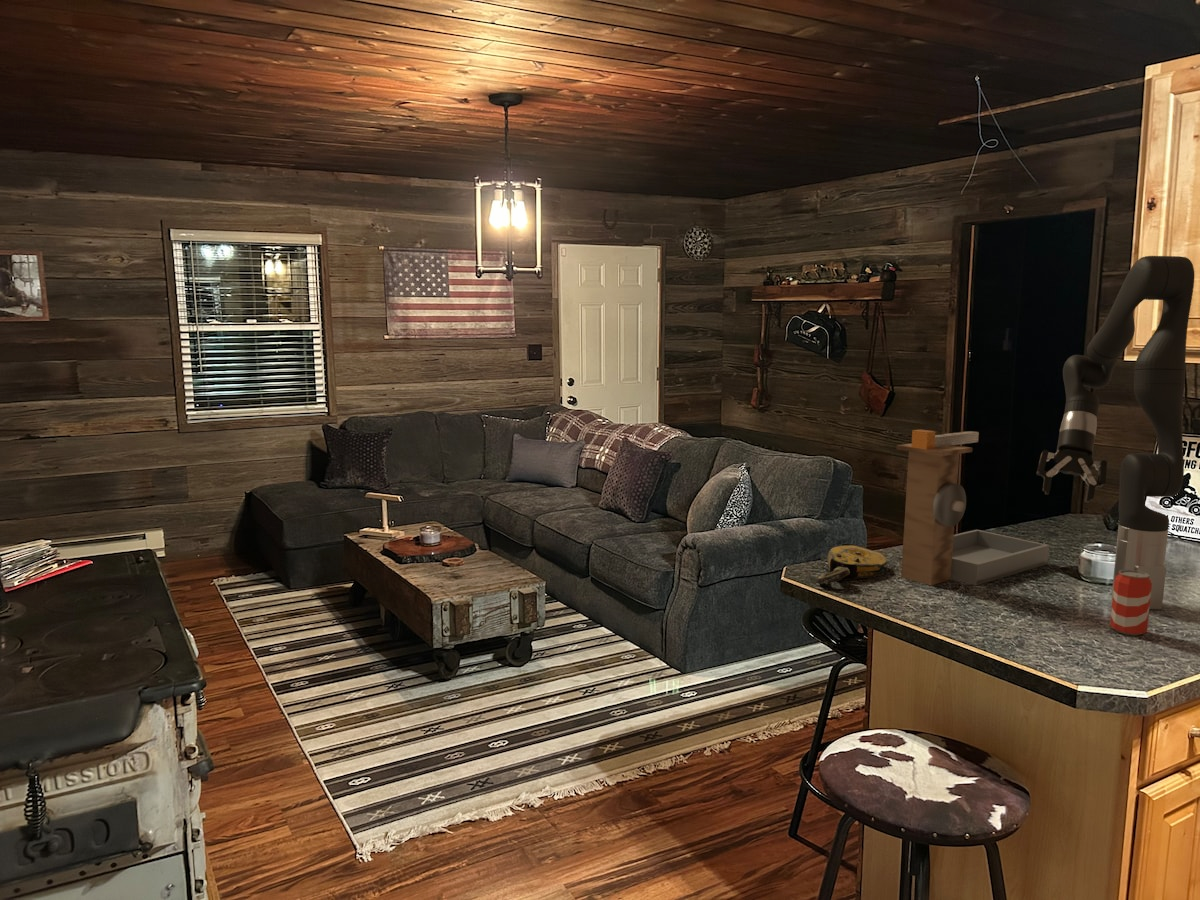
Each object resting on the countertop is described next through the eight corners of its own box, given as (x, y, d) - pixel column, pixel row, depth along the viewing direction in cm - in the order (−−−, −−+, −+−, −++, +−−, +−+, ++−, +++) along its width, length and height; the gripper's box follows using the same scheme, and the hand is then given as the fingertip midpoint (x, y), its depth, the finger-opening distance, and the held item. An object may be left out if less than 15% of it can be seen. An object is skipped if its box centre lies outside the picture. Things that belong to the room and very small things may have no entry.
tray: (975, 547, 240) (976, 529, 240) (1047, 564, 224) (1049, 545, 223) (902, 565, 222) (904, 546, 221) (976, 585, 206) (977, 564, 205)
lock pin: (966, 440, 217) (967, 424, 216) (981, 442, 214) (982, 426, 213) (911, 447, 204) (912, 430, 204) (926, 449, 201) (927, 432, 201)
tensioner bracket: (919, 568, 219) (927, 441, 215) (970, 582, 208) (980, 448, 203) (888, 576, 212) (896, 445, 208) (940, 591, 201) (950, 453, 196)
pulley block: (798, 557, 205) (845, 533, 229) (793, 581, 206) (841, 554, 230) (856, 577, 197) (899, 550, 221) (851, 601, 198) (894, 571, 222)
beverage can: (1106, 631, 176) (1112, 573, 174) (1115, 623, 181) (1121, 567, 179) (1140, 639, 172) (1147, 580, 170) (1149, 631, 176) (1155, 573, 175)
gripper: (1047, 422, 208) (1036, 486, 204) (1115, 434, 203) (1105, 499, 199) (1041, 433, 215) (1030, 496, 211) (1106, 445, 210) (1097, 508, 206)
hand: (1067, 497), depth 205 cm, fingers open, 8 cm apart
